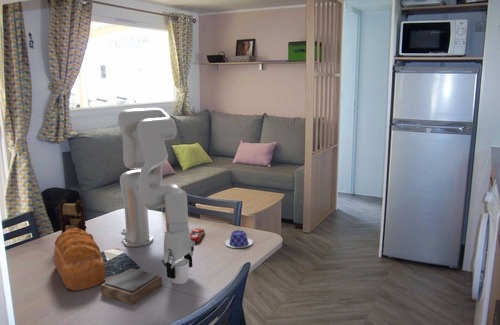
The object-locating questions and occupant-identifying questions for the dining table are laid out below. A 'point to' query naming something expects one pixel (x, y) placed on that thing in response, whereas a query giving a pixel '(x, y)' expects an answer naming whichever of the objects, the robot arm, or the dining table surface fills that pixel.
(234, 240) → the pudding
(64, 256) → the bread
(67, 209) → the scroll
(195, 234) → the race car
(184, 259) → the shot glass
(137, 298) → the tray
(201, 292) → the dining table surface
